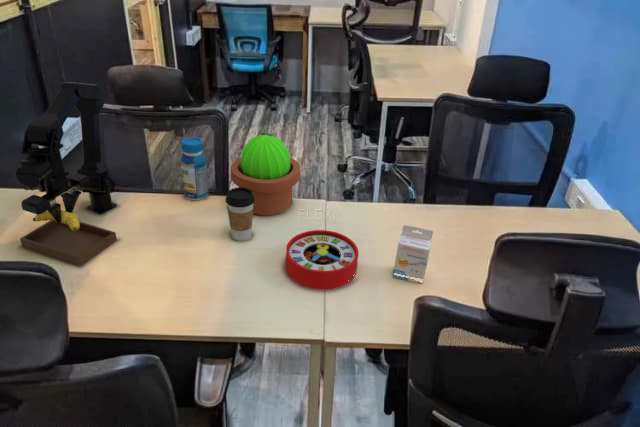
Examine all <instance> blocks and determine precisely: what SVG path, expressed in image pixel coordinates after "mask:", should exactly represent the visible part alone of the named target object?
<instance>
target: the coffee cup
mask: <svg viewBox="0 0 640 427" xmlns="http://www.w3.org/2000/svg"><path fill="white" fill-rule="evenodd" d="M254 198H255V197H254V195H253V192H252V190H250V189H248V188H244V187H239V186H237V187H234V188H231V189H230V190H228V191H227V192H226V197H225V203H226V205H227V206H226V209H227V210H226V211H227V215H228V216H227V217H228V222H229V227H230V234H231V238H232V239H233V240H235V241H239V242H244V241H248V240H249V239H250V238H251V237H252V231H253V230H252V229H253V228H252V227H253V221H254V220H253V218H254V214H253V209H254V206H253V203H254V201H255V199H254Z"/></svg>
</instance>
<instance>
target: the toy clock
mask: <svg viewBox="0 0 640 427" xmlns="http://www.w3.org/2000/svg"><path fill="white" fill-rule="evenodd" d="M339 253H340V254H339ZM358 260H359V248H358V246H357V244H356V243H355V242H354V241H353V240H352V239H351V238H350V237H348V236H346V235H344V234H342V233H339V232H337V231H332V230H325V229H314V230H312V229H311V230H307V231H303V232H300V233H299V234H296V235H295V236H292V238H291V239H290V240H289V241H288V242H287V244H286V248H285V272H286V274H287V276H289V278H290V279H291V280H292V281H293V282H295V283H296V284H298V285H299V286H301V287H305V288H308V289H311V290H318V291H329V290H336V289H339V288H342V287H345V286H346V285H348V284H350V283H351V282H352V281H353V280H354V279H355V277H356V275H357V270H358V262H359V261H358ZM355 272H356V273H355ZM354 274H355V275H354ZM353 275H354V276H353ZM348 280H349V281H348Z"/></svg>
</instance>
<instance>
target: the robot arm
mask: <svg viewBox="0 0 640 427" xmlns="http://www.w3.org/2000/svg"><path fill="white" fill-rule="evenodd" d="M105 98H106V92H105V90H104V88H102V86H101V85H100V84H98V83H96V84H95V83H85V82H75V81H65V82H62V83H61V85H60V90H59V91H58V93H57V94H56V96H55V97H54V98H53V100H52V101H51V103H50V104H49V106H48V108H47V109H46V110H45V112H44V113H43V114H42V115H39V116H37V117H35V118H33V119H32V120H31V121H30V122H29V123H28V125H27V126H26V128H25V130H24V137H23V141H22V142H23V143H22V148H21V155H23V156H27V157H26V158H24V159H22V160H20V162H19V164H20V166H18V167H17V168H16V170H15V177H16V180H17V182H19V183H20V184H21V186H22V187H23V188H22V189H23V190H24V191H31V192H32V191H35V190H38V191H39V192H41V193H45V194H43V195H41V196H40V195H37V194H32V195H30V196H28V197H26V198H24V199H22V200H21V202H20V203H21V208H22V211H24V212H28V213H31V214H34V215H39V214H42V213H44V212H46V211H49V212H50V214H51V215H52V216H53V217H54V219H55V220H56V221H57V222H58V223H61V210H62V205H61V203H58V202H57V198H59V197H60V198H62V202H63V206H64V211H66V212H70V213H73V212H74V210H75V206H76V204H77V202H78V199H79V198H80V195H81V194H82V193H88V195H89V200H90V205H88V206H87V209H89V210H90V211H92V212H95V213H97V214H99V215H101V214H104V213H105V212H108V211H109V210H112V209H114V208H116V207H117V206H118V205H117V203H114V202H113V201H112V196H111V194H112V193H115V189H116V181H114V179H112V178H111V177H109V173H108V172H109V171H108V169H107V168H106V166H105V165H104V164H103V162H102V151H101V150H102V149H101V135H100V118H99V116H100V115H99V114H100V113H101V112H102V109H103V108H104V106H105ZM74 108H76V110H77V111H78V113H79V115H80V127H81V141H82V158H83V159H82V160H83V163H82V164H81V167H80V168H78V169H77V170H76V172H74V173H72V174H70V172H69V170H65V167H64V162H63V158H62V153H61V149H62V148H64V144H63V143H61V142H62V139H63V137H64V134H65V132H64V129H63V126H64V124H65V123H66V121H67V119H68V118H69V116H70V114H71V112H72V111H73V109H74ZM32 146H35V147H32ZM77 186H79V189H80V190H81V191H80V190H78V188H77ZM73 214H74V213H73Z"/></svg>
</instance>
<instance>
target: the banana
mask: <svg viewBox="0 0 640 427" xmlns="http://www.w3.org/2000/svg"><path fill="white" fill-rule="evenodd" d="M52 220H54V221H56V220H55V219H54V217H53V216H52V215H51V214H50V212H49V211H46V212H44V213H42V214H39V215H37V214H35V216H34V217H33V218H32V221H33V222H41V221H42V222H43V221H44V222H48V221H52ZM80 222H81V221H80V219H79V218H78V215H76V214H75V213H70V212H66V210H63V209H61V223H64V224H67V225H68V226H69V228H70V229H71V230H73V231H74V232H76V231H77V230H78V229H79V227H80V225H79V223H80Z"/></svg>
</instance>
